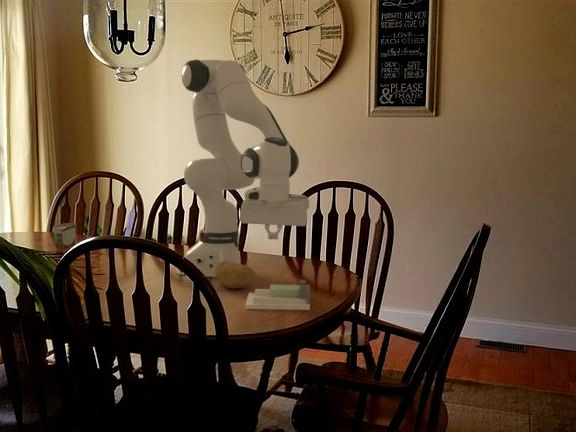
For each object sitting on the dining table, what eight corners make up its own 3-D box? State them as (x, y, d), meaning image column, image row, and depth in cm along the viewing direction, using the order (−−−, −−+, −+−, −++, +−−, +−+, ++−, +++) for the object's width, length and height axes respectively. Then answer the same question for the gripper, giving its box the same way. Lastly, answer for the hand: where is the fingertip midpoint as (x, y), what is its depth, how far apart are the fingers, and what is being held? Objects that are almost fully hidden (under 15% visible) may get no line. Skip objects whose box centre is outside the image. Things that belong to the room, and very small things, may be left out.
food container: (63, 246, 247) (61, 222, 245) (77, 247, 246) (76, 223, 244) (47, 253, 235) (45, 227, 233) (62, 254, 234) (60, 228, 232)
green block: (269, 301, 173) (269, 289, 173) (270, 296, 178) (270, 284, 178) (304, 301, 173) (304, 290, 172) (304, 296, 178) (304, 285, 177)
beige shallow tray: (245, 308, 170) (245, 288, 169) (248, 296, 182) (248, 277, 181) (309, 309, 170) (310, 289, 169) (309, 297, 182) (309, 278, 181)
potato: (242, 295, 183) (242, 269, 182) (208, 287, 191) (207, 262, 190) (262, 288, 191) (262, 263, 189) (229, 280, 199) (228, 256, 198)
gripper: (309, 193, 183) (307, 238, 186) (241, 190, 183) (240, 234, 186) (309, 196, 177) (307, 243, 179) (239, 193, 177) (238, 239, 180)
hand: (273, 238), depth 183 cm, fingers closed
